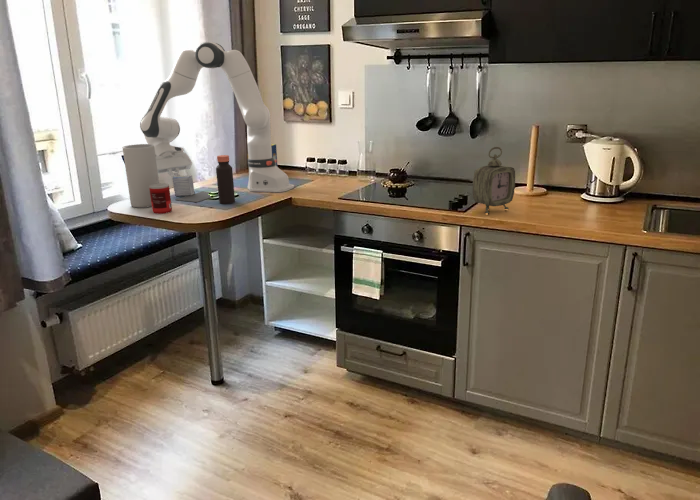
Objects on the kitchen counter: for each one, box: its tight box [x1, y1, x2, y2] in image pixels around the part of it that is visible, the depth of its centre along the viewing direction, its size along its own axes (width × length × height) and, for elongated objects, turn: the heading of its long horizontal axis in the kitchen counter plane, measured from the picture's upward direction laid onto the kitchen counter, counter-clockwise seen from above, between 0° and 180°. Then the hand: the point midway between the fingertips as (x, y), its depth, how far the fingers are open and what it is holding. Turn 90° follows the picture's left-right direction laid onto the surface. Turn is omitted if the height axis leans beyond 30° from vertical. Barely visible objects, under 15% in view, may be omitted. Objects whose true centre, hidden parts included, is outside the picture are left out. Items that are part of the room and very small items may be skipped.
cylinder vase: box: [122, 143, 160, 209], centre depth 241 cm, size 12×12×25 cm
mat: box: [175, 190, 212, 203], centre depth 257 cm, size 12×18×1 cm, turn 154°
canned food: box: [149, 182, 173, 215], centre depth 231 cm, size 8×8×11 cm
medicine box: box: [171, 174, 195, 197], centre depth 259 cm, size 8×4×9 cm, turn 84°
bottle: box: [215, 154, 236, 205], centre depth 242 cm, size 7×7×20 cm
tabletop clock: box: [472, 146, 516, 214], centre depth 216 cm, size 14×9×25 cm, turn 124°
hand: (176, 177), depth 262 cm, fingers closed
